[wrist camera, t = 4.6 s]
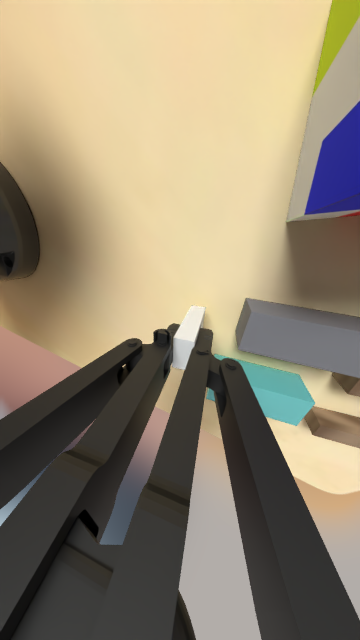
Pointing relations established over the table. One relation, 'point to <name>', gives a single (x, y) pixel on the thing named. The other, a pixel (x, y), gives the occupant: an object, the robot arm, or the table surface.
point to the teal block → (276, 392)
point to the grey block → (300, 336)
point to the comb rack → (337, 417)
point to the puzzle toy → (332, 125)
